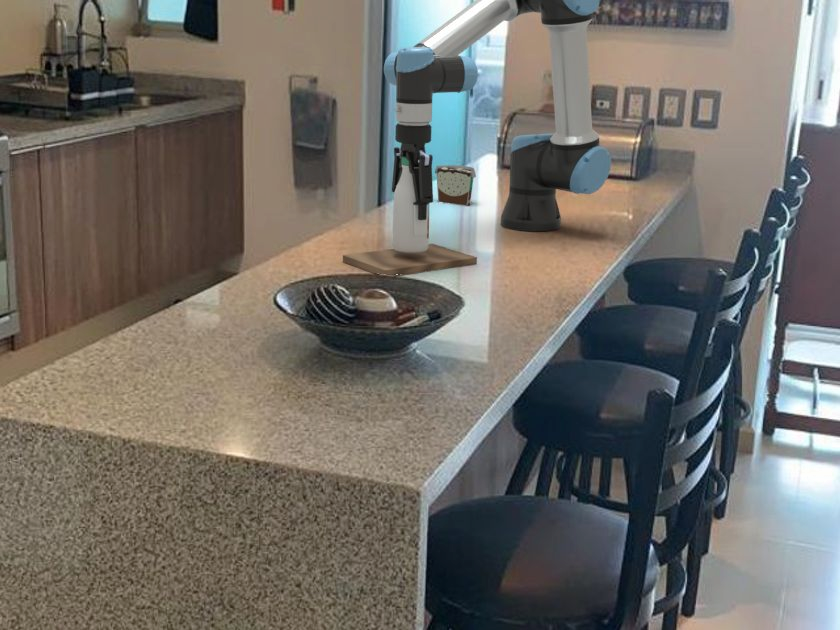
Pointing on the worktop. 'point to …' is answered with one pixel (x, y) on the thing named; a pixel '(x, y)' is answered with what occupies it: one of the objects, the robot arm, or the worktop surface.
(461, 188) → the food container
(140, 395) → the worktop surface
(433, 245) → the board
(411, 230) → the milk bottle
